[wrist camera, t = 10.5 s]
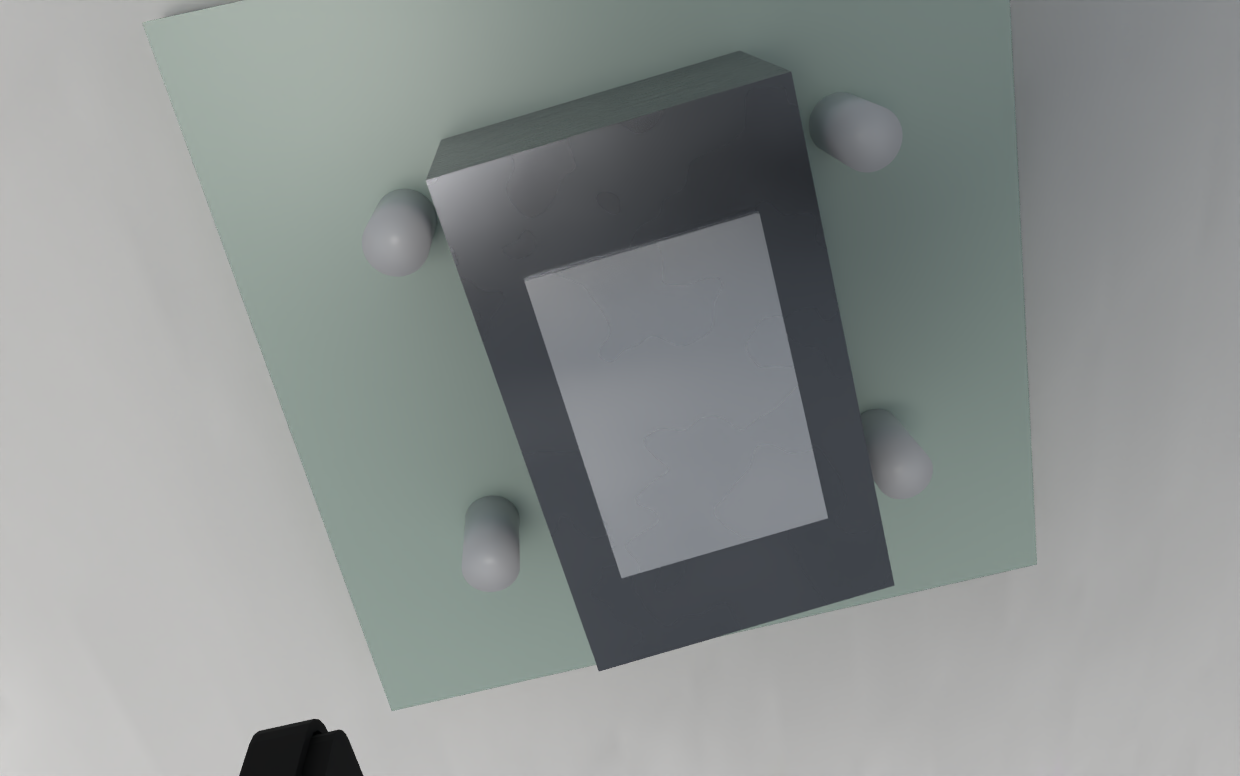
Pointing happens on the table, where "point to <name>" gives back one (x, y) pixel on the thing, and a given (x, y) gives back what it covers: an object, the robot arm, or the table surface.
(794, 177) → the block
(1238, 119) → the table surface
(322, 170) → the pin tray
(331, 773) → the robot arm
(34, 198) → the table surface
